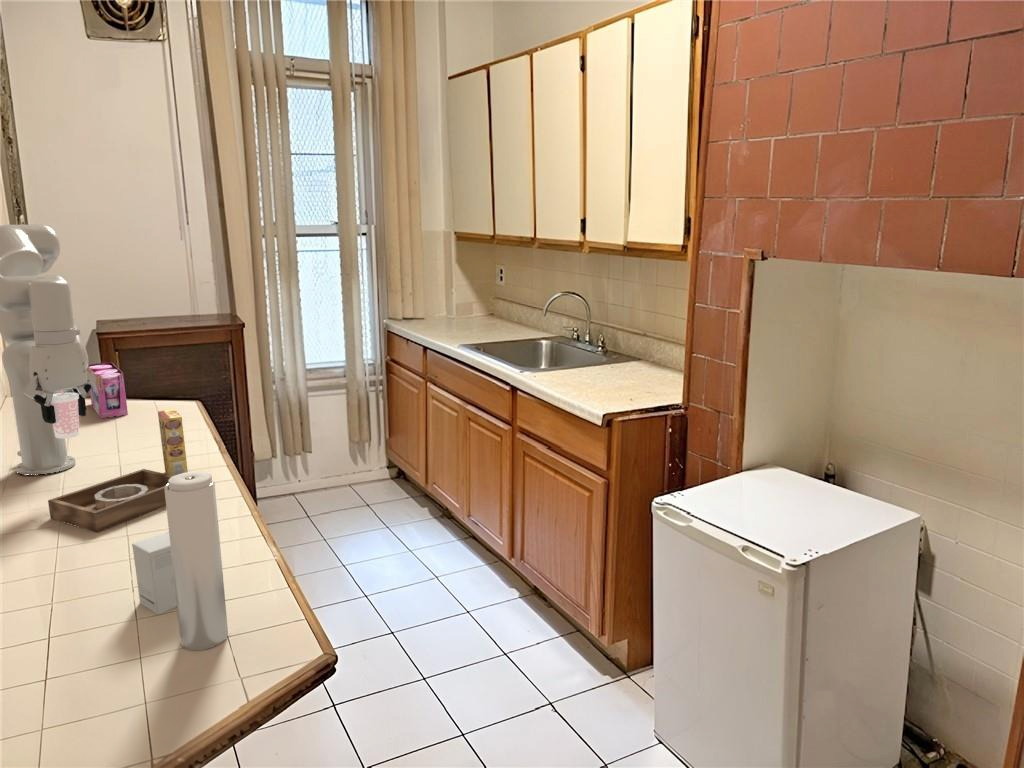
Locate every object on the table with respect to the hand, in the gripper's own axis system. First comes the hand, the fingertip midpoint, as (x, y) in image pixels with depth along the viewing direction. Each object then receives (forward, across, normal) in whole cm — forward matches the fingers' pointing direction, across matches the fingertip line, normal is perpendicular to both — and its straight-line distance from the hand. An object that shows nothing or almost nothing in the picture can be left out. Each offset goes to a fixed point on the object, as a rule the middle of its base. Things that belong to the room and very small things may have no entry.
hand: (65, 418), depth 163 cm
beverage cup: (+4, 0, 0) cm, 4 cm away
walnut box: (+17, 0, +17) cm, 24 cm away
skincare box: (+16, +21, +60) cm, 66 cm away
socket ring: (+17, 0, +17) cm, 24 cm away
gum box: (+20, -52, -62) cm, 84 cm away
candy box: (+18, -19, +10) cm, 28 cm away
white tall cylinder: (+16, +28, +74) cm, 81 cm away
